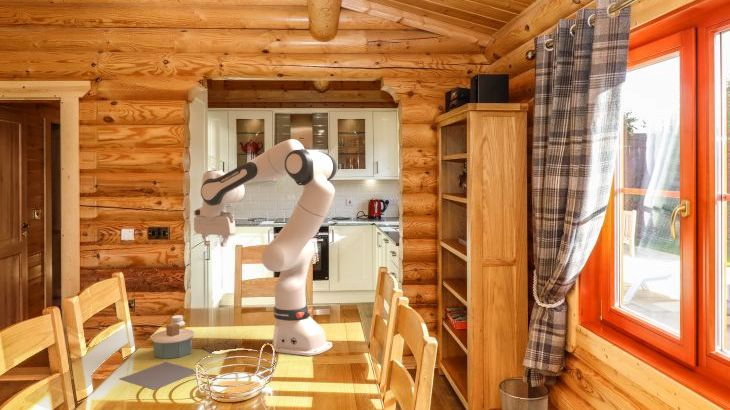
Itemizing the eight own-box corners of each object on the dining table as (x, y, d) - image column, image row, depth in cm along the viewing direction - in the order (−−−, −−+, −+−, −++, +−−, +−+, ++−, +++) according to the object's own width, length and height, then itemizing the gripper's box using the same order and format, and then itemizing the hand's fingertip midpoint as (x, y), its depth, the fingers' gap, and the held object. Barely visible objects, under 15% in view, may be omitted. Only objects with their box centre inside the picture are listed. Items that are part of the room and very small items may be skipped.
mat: (200, 372, 171) (200, 371, 171) (154, 391, 156) (154, 389, 156) (165, 363, 180) (165, 361, 180) (118, 380, 165) (118, 378, 165)
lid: (202, 334, 191) (202, 322, 191) (169, 345, 179) (168, 332, 179) (176, 329, 198) (175, 317, 198) (142, 339, 186) (142, 327, 186)
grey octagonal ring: (198, 351, 191) (198, 334, 191) (170, 361, 181) (169, 344, 180) (176, 346, 197) (175, 330, 197) (147, 355, 187) (147, 338, 187)
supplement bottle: (167, 341, 203) (166, 316, 202) (181, 338, 207) (180, 313, 206) (175, 344, 199) (174, 319, 198) (188, 341, 203) (187, 316, 202)
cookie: (214, 357, 186) (214, 354, 186) (201, 348, 195) (201, 346, 195) (246, 350, 193) (246, 347, 193) (232, 342, 203) (232, 339, 203)
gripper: (238, 211, 211) (239, 246, 212) (203, 210, 222) (204, 243, 223) (226, 212, 206) (228, 248, 207) (190, 211, 217) (191, 245, 218)
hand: (215, 245), depth 215 cm, fingers open, 8 cm apart
